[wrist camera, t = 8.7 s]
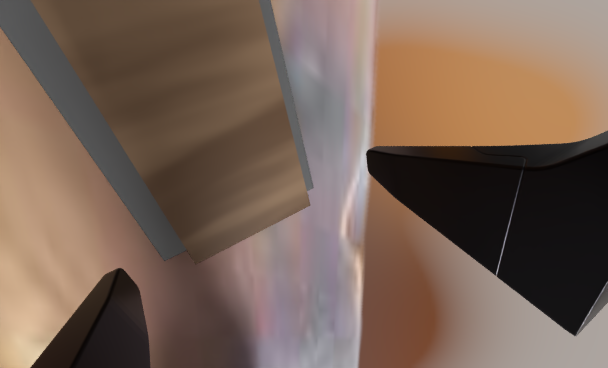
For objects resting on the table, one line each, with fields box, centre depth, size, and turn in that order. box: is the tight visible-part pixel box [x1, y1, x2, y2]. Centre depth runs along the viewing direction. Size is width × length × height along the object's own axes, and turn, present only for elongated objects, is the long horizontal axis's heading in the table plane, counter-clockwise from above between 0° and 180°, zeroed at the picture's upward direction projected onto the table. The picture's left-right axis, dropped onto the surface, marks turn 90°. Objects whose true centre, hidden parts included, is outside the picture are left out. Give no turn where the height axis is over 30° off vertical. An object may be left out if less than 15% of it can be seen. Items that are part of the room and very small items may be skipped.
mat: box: [0, 0, 314, 261], centre depth 15 cm, size 15×11×1 cm
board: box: [31, 0, 310, 264], centre depth 13 cm, size 4×7×12 cm
